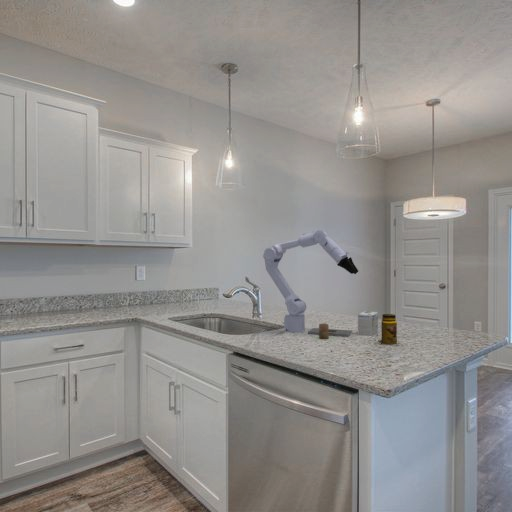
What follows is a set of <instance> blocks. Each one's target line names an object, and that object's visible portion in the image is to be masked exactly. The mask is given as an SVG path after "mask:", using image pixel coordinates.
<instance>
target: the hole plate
mask: <svg viewBox="0 0 512 512" xmlns="http://www.w3.org/2000/svg"><path fill="white" fill-rule="evenodd" d="M352 333H353V330H349V329H348V330H346V329H335V328H334V329H333V328H331V329H330V328H329V337H343V338H349V337H350V336H351V334H352ZM307 335H314V336H316V335H317V336H319V327H313V328H312V329H310V330H308V331H307Z"/></svg>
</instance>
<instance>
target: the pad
mask: <svg viewBox="0 0 512 512" xmlns="http://www.w3.org/2000/svg"><path fill="white" fill-rule="evenodd" d="M337 338H338V337H335V336H329V339H319V335H317V336H316V335H314V336H312V338H310V340H315V341H328V342H329V341H330V342H335V341H336V340H337Z"/></svg>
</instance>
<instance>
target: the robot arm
mask: <svg viewBox="0 0 512 512" xmlns="http://www.w3.org/2000/svg"><path fill="white" fill-rule="evenodd" d="M318 244H319V246H320V247H322V249H323V250H324V251H325V252H326V253H327V254H328V255H329V256H330V258H332V259H333V261H334V262H335V263H336V264H337V266H338V267H341V268H342V269H344V270H346V272H348V273H350V274H354V275H356V274H357V273H359V269H358V268H357V266H356V265H355V264H354V261H353V258H352V257H348V254H349V252H348V251H346V252H345V251H344V250H343V249H342V248H341V247H340V246H339V245H338V244H337V243H336V242H335V241H334V240H333V239H332V238H331V237H330V236H329V234H328V233H327V232H326V231H323V230H316V231H312V232H311V233H307V234H306V233H302V235H300V236H299V237H298V239H293V240H290V241H285V242H281V243H277V244H274V245H271V246H268V247H266V248H265V250H264V252H263V255H262V258H263V259H264V263H265V271H266V272H267V273H268V275H269V277H270V278H271V280H272V281H273V283H274V284H275V286H276V287H277V289H278V291H279V292H280V294H281V295H282V296H283V298H284V300H285V301H284V303H285V305H286V308H287V312H288V313H289V314H285V316H284V318H283V327H284V328H283V329H284V330H283V332H284V334H285V333H287V332H292V333H303V332H305V331H306V330H305V327H306V326H305V324H306V323H305V321H306V320H305V318H306V317H305V315H306V313H305V311H306V310H307V304H306V302H305V301H304V300H302V299H301V298H300V297H299V296H298V295H297V294H295V292H294V291H293V289H292V287H291V285H289V283H288V281H287V280H286V278H285V277H284V276H283V273H282V272H281V271H280V269H279V268H278V267H279V263H280V262H281V260H282V259H283V256H284V254H286V252H287V250H290V249H294V248H296V247H301V248H307V247H311V246H315V245H318Z"/></svg>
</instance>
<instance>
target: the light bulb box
mask: <svg viewBox="0 0 512 512" xmlns="http://www.w3.org/2000/svg"><path fill="white" fill-rule="evenodd" d="M378 320H379V312H378V311H362V312H359V313H358V314H357V334H358V335H361V336H371V337H372V336H375V337H377V336H378V335H379V321H378Z"/></svg>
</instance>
